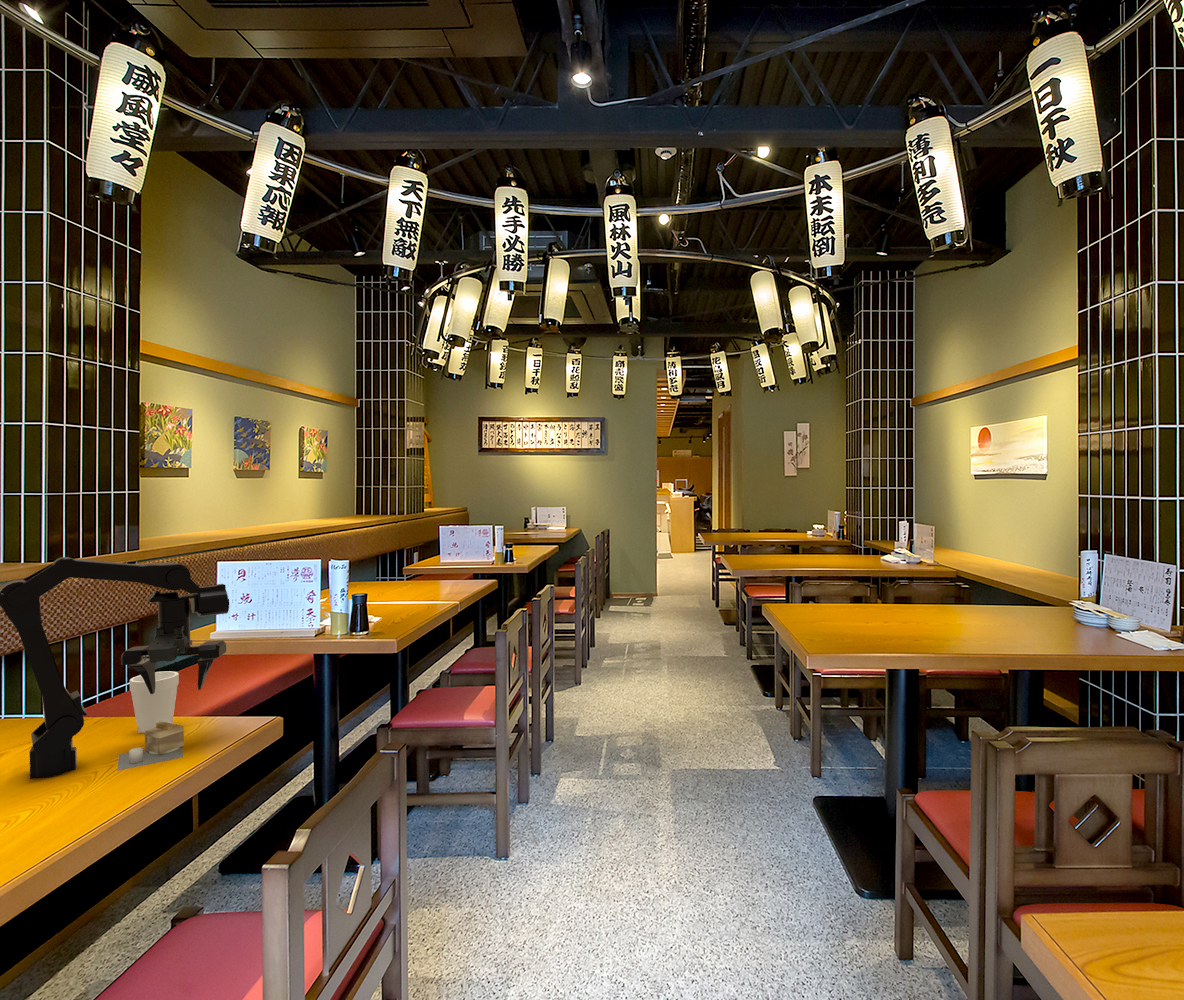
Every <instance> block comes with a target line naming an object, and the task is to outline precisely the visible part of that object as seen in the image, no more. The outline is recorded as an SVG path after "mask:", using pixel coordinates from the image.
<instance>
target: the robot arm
mask: <svg viewBox="0 0 1184 1000" xmlns="http://www.w3.org/2000/svg"><path fill="white" fill-rule="evenodd" d="M70 578H72V579H73V578H74V579H75V578H76V579H88V580H89V579H90V580H100V581H101V580H102V581H116V582H128V583H129V582H131V583H138V584H143V585H148V586H150V587H151V586H152V587H155V588H160V589H165V590H167V591H168V590H170V591H169V592H160V591H159V589H158V590H157V589H154V591H153V592H152V594H151V595H149V596H147V598H146V601H148V602H149V603H152V604H153V603H157V612H158V615H157V617H158V627H156V631H155V638H153V640H151V642H150V644H149V645H136V646H132V647H130V648H128V649H126V650H125V651H123V652H122V654H121V655H120V665H121V666H128V669H134V671H136V672H138V673H139V675H141V676H142V678H143V680H144V682H145V684H146V686H147V688H148V690H149V692H150V694H154V693H155V672H156V668H155V667H156V666H155V665H156V663H159V662H166V663H167V662H174V661H175V660H176V659H177V657H184V656H198V657H199V659H198V660H197V661H196V662H197V665H198V670H197V671H198V672H197V673H198V674H197V690H199V691H201V690H202V689H203V686H204V684H205V681H206V678H207V676H208V673H209V670H210V668H211V666H212V665H213V663H214V661H215V660H217V659H218V658H220V657H222V656H223V655H224V654H225V653H227V643H226V642H225V641H224V640H223V639H221V640H208V641H205V642H203V643H201V644H200V645H196V646H192V645H193V640H192V639H191V627H192V626H193V625H192V621H191V618H190V617H191V616H190V613H192V614H197V617H198V618H202V617H209V616H217V615H226V614H228V613H229V611H230V610H229V609H230V598H229V596H228V592H227V589H226V584H224V583H218V584H214V585H207V586H199V585H198V583H195V581H193V579H192V578H191V572H190V569H189V568H188V567H187V566H186V565H184V564H181V563H178V562H175V561H174V562H172V561H169V562H168V561H167V562H166V561H164V562H153V563H139V564H136V563H124V562H114V561H103V560H91V559H80V558H79V559H78V558H72V557H68V556H60V557H59V558H56V559H55V560H54V561H53V562H52V563H50V564H48V565H47V566H44V567H43V568H41V569H39V570H37V571H35V572H34V573H32V574H30V575H28V576H26V577H25V578H23V579H13V580H10V581H8V582H6V583H5V584H3V585H2V586H1V587H0V608H2V611H4V614H5V615H6V616H7V618H8V619H9V620H10V622H11V623H12V625H13V626H14V628H15V629H16V630H17V632H18V634H19V635H18V636H19V637H20V640H21V643H22V646H23V649H24V651H25V653H26V656H27V659H28V662H29V665H30V666H31V670H32V672H33V675H34V678H35V680H36V683H37V686H38V689H39V691H40V694H41V698H42V699H41V700H42V711H43V718H44V721H43V722H42V723H41V724H39V726H38V727H37V728H36V729H34V730H33V731H32V732H31V734H30V737H31V744H32V746H31V748H30V749H29V780H34V779H35V780H36V779H37V780H40V779H49V778H53V777H57V776H61V775H63V774H66V773H70V772H72V771H76V770H77V766H78V764H77V763H78V762H77V761H78V760H77V758H78V757H77V755H78V754H77V746H73V744H74V743H73V737H74V736H75V737H76V735H77V734H78V733H80V732H81V730H83V729H82V728H83V727H84V724H85V720H84V719H85V718H84V716H88V712H87V710H86V709H85V707H84V705H83V704H82V699H81V694H80V693H79V691H78V690H75V691H73V692H71V693H70V692H69V691H68V689H67V688H66V687H65V684H64V682H63V680H62V676H61V674H60V671H59V669H58V665H57V662H56V660H55V657H54V654H53V652H52V648H51V645H50V643H49V640H48V638H47V635H46V632H45V630H44V626H43V624H42V613H41V604H40V603H41V602H40V597H41V596H43V595H45V594H46V593H48V592H49V591H50V590H52V589H54V588H55V587H57V586H58V585H59V584H61V583H62V582H64V581H65V580H67V579H70ZM178 590H180V591H181V590H182V591H184V592H186V593H188V594H181V595H179V594H178V592H177V591H178ZM190 609H191V612H190Z"/></svg>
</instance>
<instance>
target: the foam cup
mask: <svg viewBox="0 0 1184 1000" xmlns="http://www.w3.org/2000/svg"><path fill="white" fill-rule="evenodd" d="M179 676H180V674H179V672H178V671H170V670H169V671H155V693H154V694H150V692H149V690H148V688H147V686H146V684H145V682H144V680H143V678H142V676H141V675H140V674H139V675H137V676H134V677H131V678H130V679H129V691H130V693H131V699H132V703H133V709H134V710H133V711H134V716H135V721H136V727H137V733H138V734H145V730H148V729H151V728H154V727H156V723H158V722H166V723H172V724H174V716H175V715H174V713H175V706H176V698H177V693H178V685H179V684H180V680H179V679H180V678H179Z"/></svg>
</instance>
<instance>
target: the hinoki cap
mask: <svg viewBox="0 0 1184 1000" xmlns="http://www.w3.org/2000/svg"><path fill="white" fill-rule="evenodd" d="M184 726H185V725H181V724H177V723H166V722H158V723H156V727H154V728H151V729H148V730H145V733H144V750H146V751H150V752H154V753H158V754H161V753H164V752H167V751H170V750H172V749H175V748H178V747H181V746H182V747H183V746H185V731H184V730H185V729H184V728H185V727H184Z"/></svg>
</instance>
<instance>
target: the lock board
mask: <svg viewBox="0 0 1184 1000" xmlns="http://www.w3.org/2000/svg"><path fill="white" fill-rule="evenodd" d="M181 758H184V752H183V746H181V747H178V748H175V749H172V750H170V751H167V752H164V753H161V754H158V753H154V752H150V751H146V750H145V749H143V747H133V748H131V749H129V751H128V752H125V753H121V754H118V760H117V769H116V770H117V772H118V771H124V770H128V769H133V768H138V767H143V766H148V765H153V764H156V763H161V762H166V761H171V760H177V759H181Z"/></svg>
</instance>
